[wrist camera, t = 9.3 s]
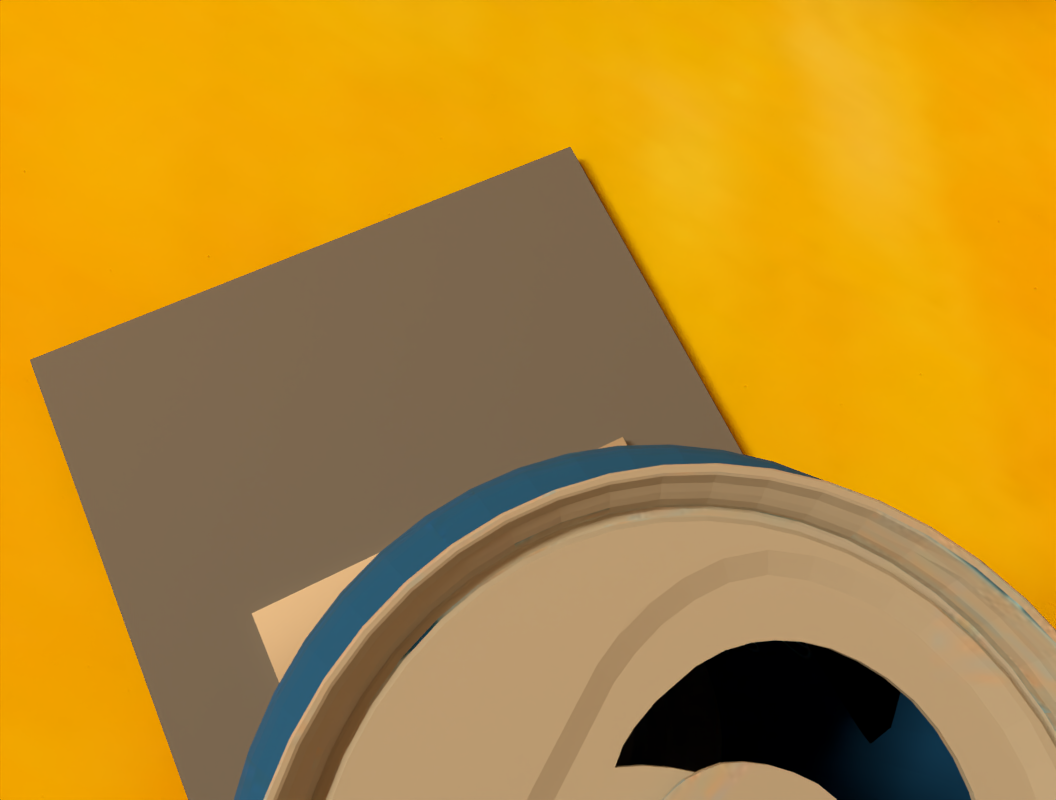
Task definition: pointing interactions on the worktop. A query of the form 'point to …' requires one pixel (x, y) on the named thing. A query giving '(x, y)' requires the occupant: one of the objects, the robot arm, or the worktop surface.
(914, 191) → the worktop surface
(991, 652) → the beverage can
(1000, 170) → the worktop surface
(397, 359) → the mat
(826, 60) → the worktop surface
